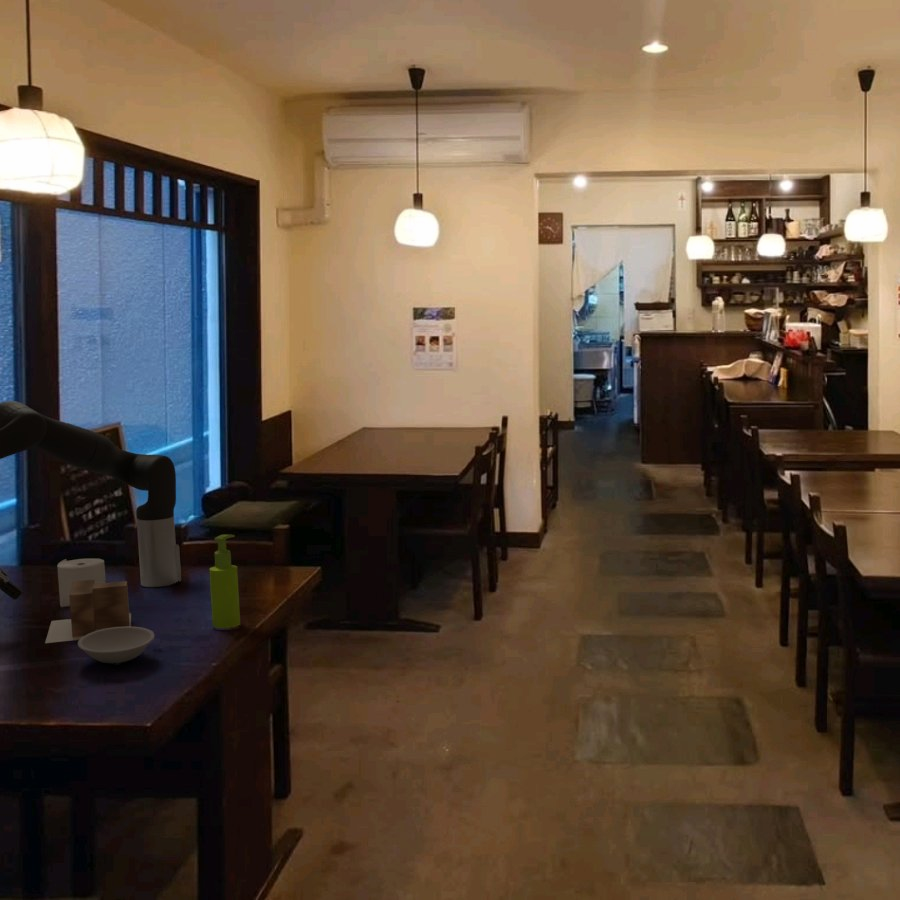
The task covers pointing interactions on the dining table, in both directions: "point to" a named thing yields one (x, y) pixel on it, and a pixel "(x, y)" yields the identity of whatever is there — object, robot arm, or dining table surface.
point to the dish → (116, 643)
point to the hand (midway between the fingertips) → (19, 595)
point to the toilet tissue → (78, 575)
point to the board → (63, 631)
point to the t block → (98, 606)
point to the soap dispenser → (224, 587)
